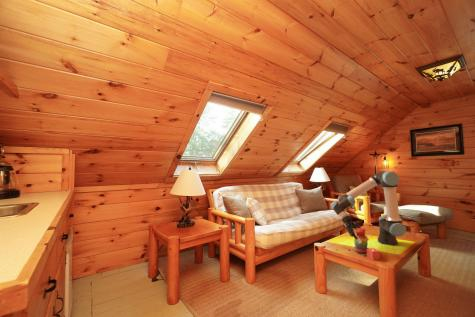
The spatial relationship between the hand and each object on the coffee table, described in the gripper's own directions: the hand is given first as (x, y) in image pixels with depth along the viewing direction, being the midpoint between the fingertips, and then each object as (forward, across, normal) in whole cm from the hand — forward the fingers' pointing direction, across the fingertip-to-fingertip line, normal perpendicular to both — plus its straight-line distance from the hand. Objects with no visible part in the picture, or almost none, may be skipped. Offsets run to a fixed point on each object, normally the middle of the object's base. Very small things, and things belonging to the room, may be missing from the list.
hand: (364, 241), depth 175 cm
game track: (+6, -5, -8) cm, 11 cm away
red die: (+12, +2, -1) cm, 12 cm away
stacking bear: (+4, 0, -8) cm, 9 cm away
